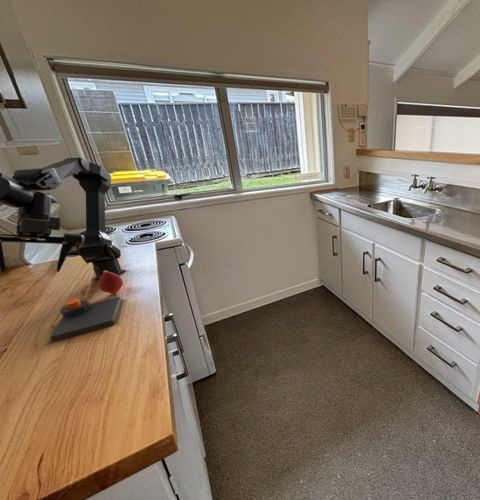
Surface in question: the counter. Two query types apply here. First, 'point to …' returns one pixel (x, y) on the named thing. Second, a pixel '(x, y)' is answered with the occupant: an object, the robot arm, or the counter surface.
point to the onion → (110, 282)
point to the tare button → (73, 303)
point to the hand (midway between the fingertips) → (32, 272)
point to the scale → (86, 318)
